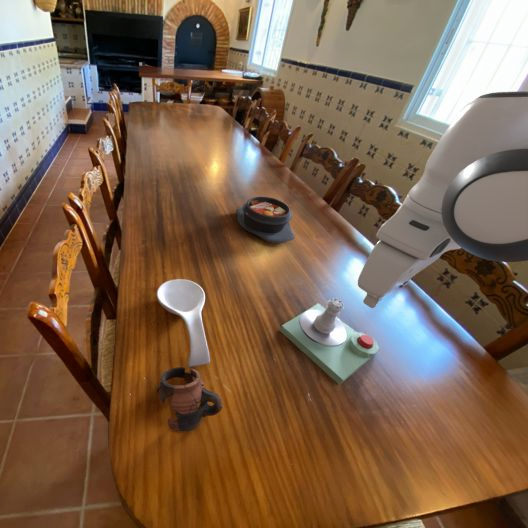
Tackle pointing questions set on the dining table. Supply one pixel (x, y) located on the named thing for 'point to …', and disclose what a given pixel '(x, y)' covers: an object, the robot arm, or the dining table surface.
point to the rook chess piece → (328, 316)
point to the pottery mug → (188, 399)
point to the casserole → (266, 219)
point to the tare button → (365, 341)
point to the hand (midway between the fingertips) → (384, 293)
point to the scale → (331, 349)
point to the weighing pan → (321, 338)
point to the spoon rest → (187, 314)
